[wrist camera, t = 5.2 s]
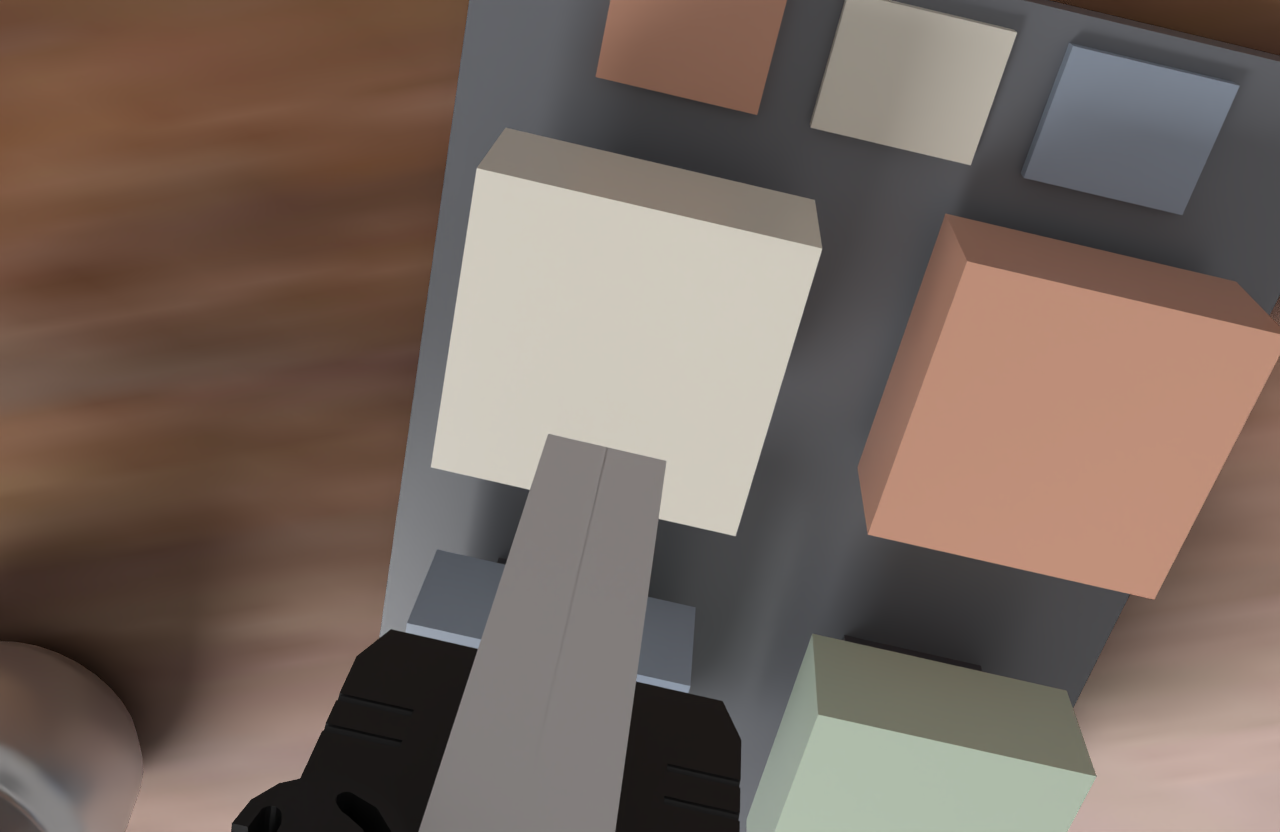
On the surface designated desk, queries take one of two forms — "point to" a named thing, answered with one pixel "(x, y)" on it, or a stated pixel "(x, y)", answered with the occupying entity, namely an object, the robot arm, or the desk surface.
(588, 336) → the key cream
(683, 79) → the keypad
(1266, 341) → the key terracotta
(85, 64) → the desk surface
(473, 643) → the key slate
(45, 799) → the plastic bottle
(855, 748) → the key sage
